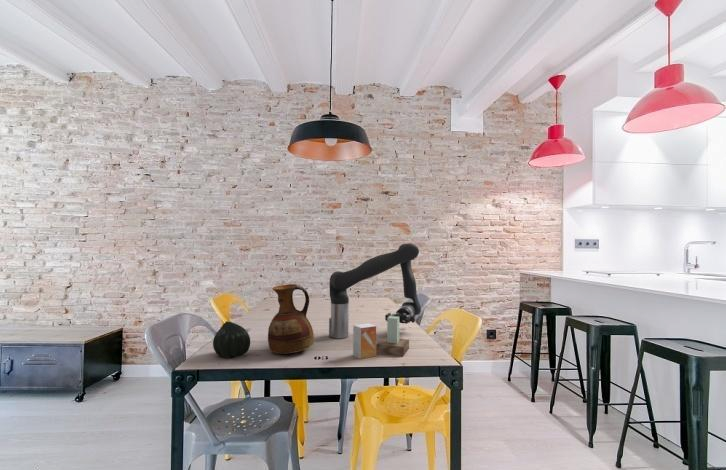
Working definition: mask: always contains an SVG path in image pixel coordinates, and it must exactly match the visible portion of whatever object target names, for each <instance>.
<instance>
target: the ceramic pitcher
mask: <svg viewBox="0 0 726 470" xmlns="http://www.w3.org/2000/svg"><path fill="white" fill-rule="evenodd" d="M272 290H273V291H274V292H275V293H276V294H277V302H278V304H279V308H278V312H277V313H276V314H275V315H274V316H273V318H272V319H271V321H270V323H269V327H268V332H267V342H268V348H269V350H270V351H271V352H273V353H276V354H281V355H282V354H283V355H287V354H294V353H299V352H302V351H304V350H306V349H308V348H310V347H312V346H313V345H314V342H315V333H314V330H313V326H312V324H311V323H310V321H309V319H308V317H307V313H308V309H309V305H310V296H309V293H308V291H307V290H306V289H305V287H303V286H301V285H300V284H296V283H290V284H288V283H287V284H282V285H277V286H273V287H272ZM295 290H300V291H302V293H303V294H304V297H305V302H304V306H303V308H302V309H301V310H298V309H297V308H296V306H295V304H294V297H293V296H294V292H295Z"/></svg>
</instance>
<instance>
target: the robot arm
mask: <svg viewBox="0 0 726 470" xmlns="http://www.w3.org/2000/svg"><path fill="white" fill-rule="evenodd" d="M419 254H420V249H419V247H418V246H417V245H416V244H414V243H403V244H401V245H400V246H399V247H398V249H397V250H395V251H392V252H389V253H383V254H379V255H376V256H374V257H372V258H371V257H370V258H369V259H367V260H365V261H364V262H363V263H361V264H360V265H358V266H356V268H354V269H350V270H346V271H339V270H338V271H335V272H333V273H331V275H330V278H329V298H330V317H329V318H328V319H329V320H328V338H333V339H346V338H349V333H350V332H349V329H350V328H349V326H350V325H349V320H350V319H349V317H350V316H349V315H350V313H349V312H350V308H349V302H350V300H349V296H348V292H347V291H348V290H347V289H349V288H351V287H353V286H354V285H356V284H358V283H360V282H361V281H365V280H369V279H371V278H372V277H376V276H378V275H380V274H383V273H384V272H387V271H388V270H390V269H392V268H394V267H396V266H398V265H400V269H401V275H402V283H403V284H402V287H403V295H404V298H406V299H410V300H411V301H410V302H409V301H405V302H403V303H402V305H401V307H400V308H399V309H397V310H396V311H395V313H391V312H388V313H386V314H385V315H384V317H385V318H384V319H385V321H386V322H387V318H388V317H389V316H396V317H399V324H400V323H401V324H406V325H407V324H410V323H413V324H414V323H415V322H416V320H417V319H416V316H419V315H420V314H421V312H422V306H421V303H420V301H419V298H418V295H417V294H418V292H417V282H416V278H415V276H414V272H413V269H412V261H413V260H415V259H417V258H418V256H419Z"/></svg>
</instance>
